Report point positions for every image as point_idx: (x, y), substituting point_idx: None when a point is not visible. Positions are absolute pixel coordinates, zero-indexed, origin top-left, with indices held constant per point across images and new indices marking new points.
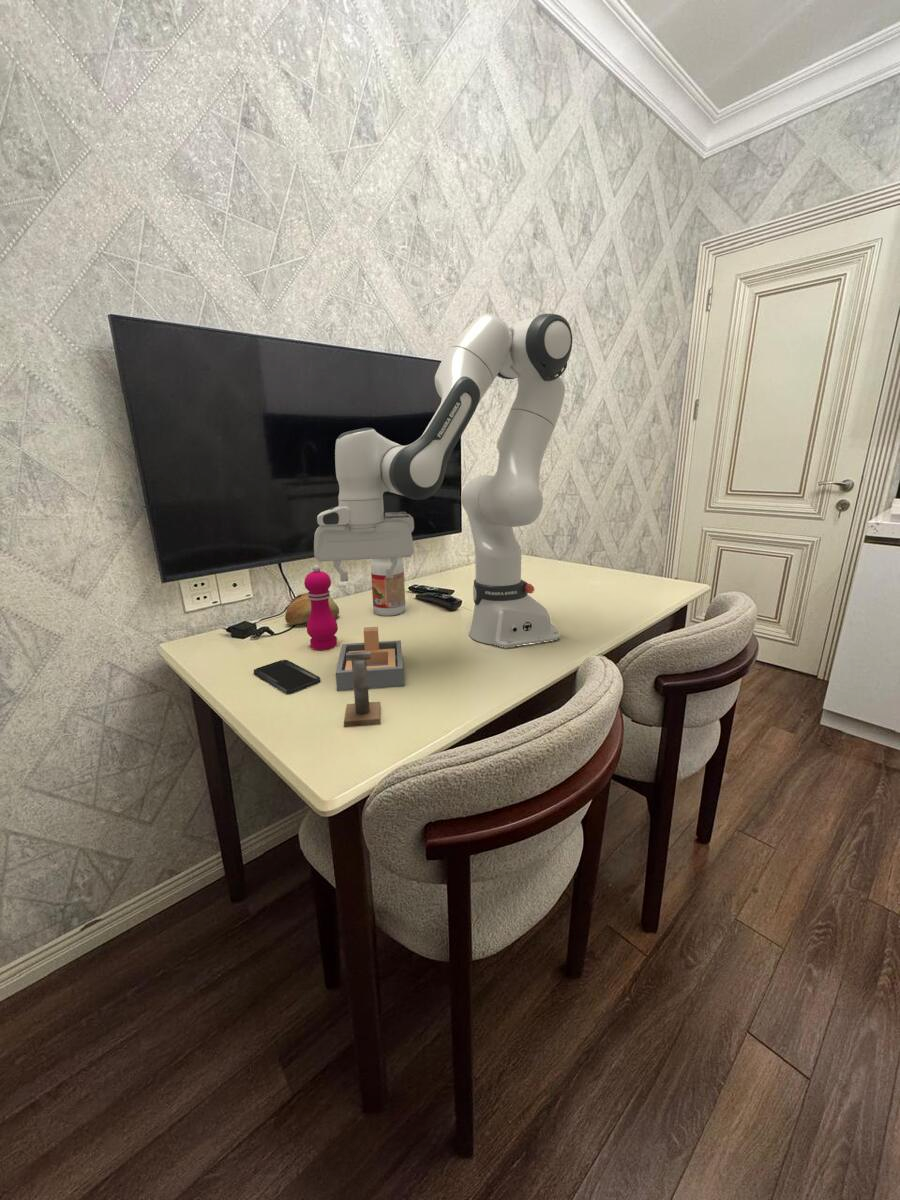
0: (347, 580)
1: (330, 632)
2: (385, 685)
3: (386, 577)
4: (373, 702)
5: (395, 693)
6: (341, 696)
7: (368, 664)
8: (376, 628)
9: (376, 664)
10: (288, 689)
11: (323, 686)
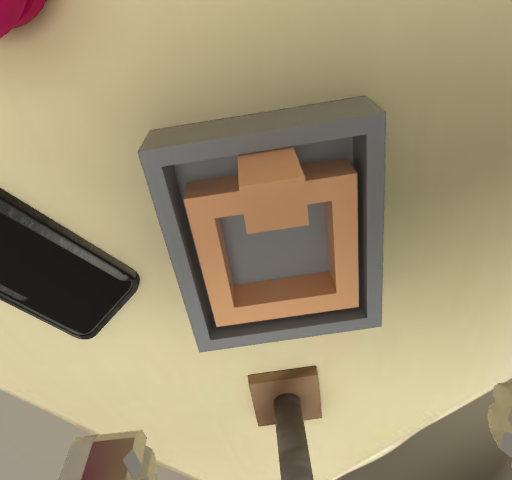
0: (155, 468)
1: (15, 19)
2: None
3: (496, 439)
4: (303, 377)
5: None
6: None
7: None
8: (301, 200)
9: None
10: (81, 329)
11: (158, 298)
